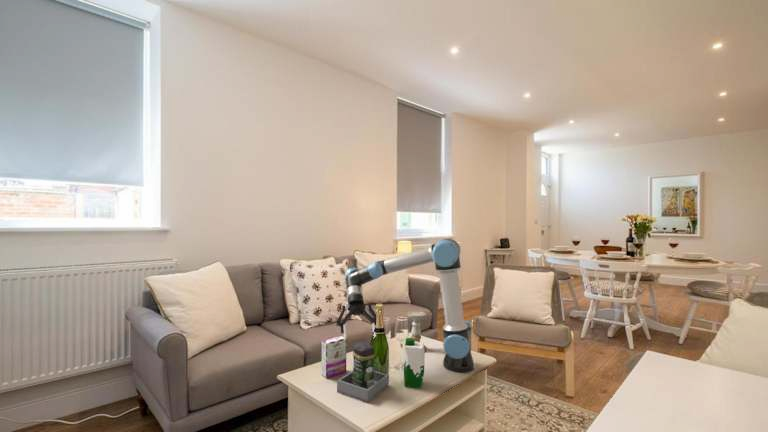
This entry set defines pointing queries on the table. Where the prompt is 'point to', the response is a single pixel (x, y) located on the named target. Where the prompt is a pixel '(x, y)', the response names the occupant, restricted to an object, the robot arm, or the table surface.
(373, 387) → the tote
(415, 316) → the candle holder
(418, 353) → the milk carton
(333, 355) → the candy bar box
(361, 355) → the coffee jar
